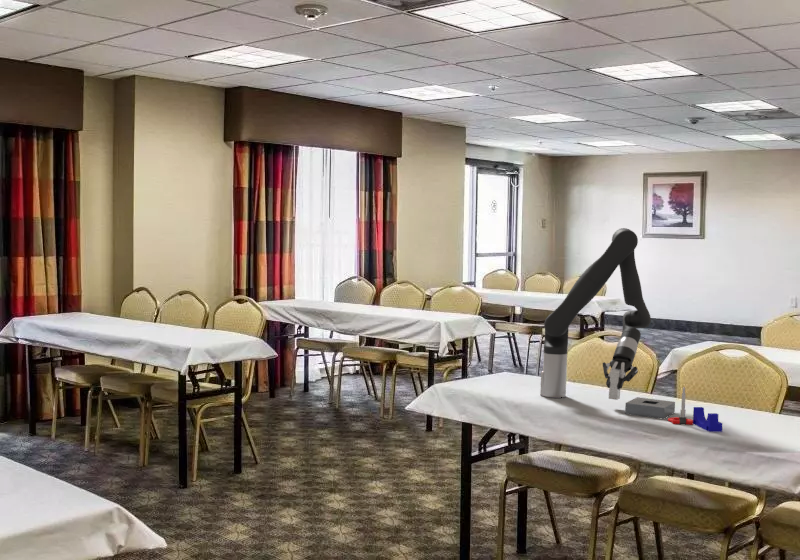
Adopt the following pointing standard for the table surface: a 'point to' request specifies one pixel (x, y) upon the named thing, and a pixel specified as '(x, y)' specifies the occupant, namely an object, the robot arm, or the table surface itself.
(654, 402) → the gray square socket block
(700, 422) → the cable clip
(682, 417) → the red grey spiked stand
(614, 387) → the light grey tall block
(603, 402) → the table surface
